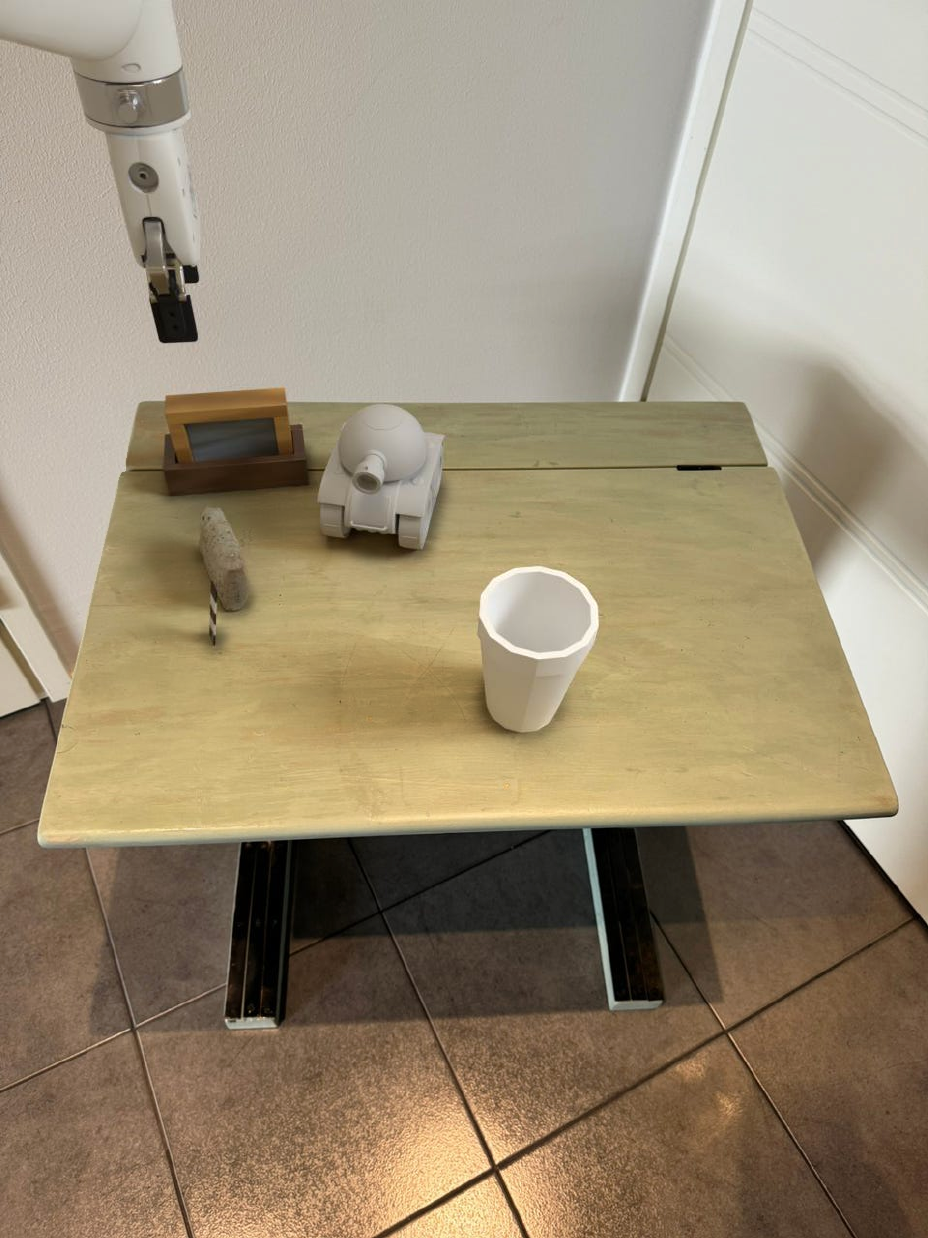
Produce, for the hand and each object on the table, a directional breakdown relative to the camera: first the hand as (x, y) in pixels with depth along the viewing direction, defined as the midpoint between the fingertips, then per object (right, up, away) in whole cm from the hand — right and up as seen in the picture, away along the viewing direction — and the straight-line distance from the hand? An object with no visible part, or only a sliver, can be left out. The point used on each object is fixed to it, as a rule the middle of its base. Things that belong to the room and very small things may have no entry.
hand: (180, 310), depth 74 cm
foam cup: (+30, -35, +1) cm, 46 cm away
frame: (0, -11, +18) cm, 21 cm away
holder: (0, -11, +18) cm, 21 cm away
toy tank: (+17, -16, +16) cm, 28 cm away
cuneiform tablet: (+2, -25, +7) cm, 26 cm away
